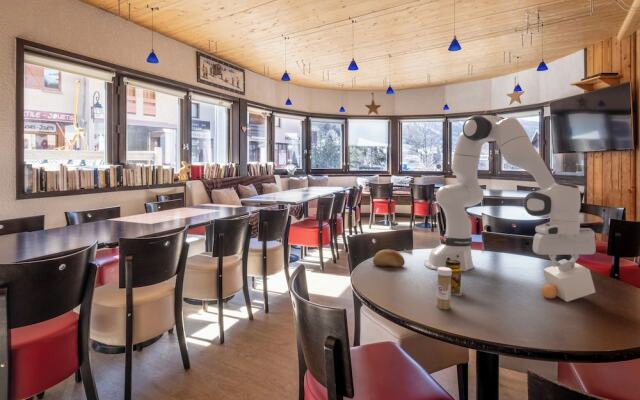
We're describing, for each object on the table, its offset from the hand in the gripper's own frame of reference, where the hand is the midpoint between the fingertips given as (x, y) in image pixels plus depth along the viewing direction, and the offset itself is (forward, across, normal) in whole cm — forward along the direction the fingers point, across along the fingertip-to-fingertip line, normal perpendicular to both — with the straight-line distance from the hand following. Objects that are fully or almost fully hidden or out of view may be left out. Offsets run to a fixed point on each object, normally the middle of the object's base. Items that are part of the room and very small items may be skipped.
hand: (563, 266), depth 132 cm
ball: (+9, +4, 0) cm, 10 cm away
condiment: (+11, +38, -7) cm, 40 cm away
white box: (+9, -4, -1) cm, 10 cm away
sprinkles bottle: (+12, +45, +9) cm, 47 cm away
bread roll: (+10, +56, -42) cm, 71 cm away
